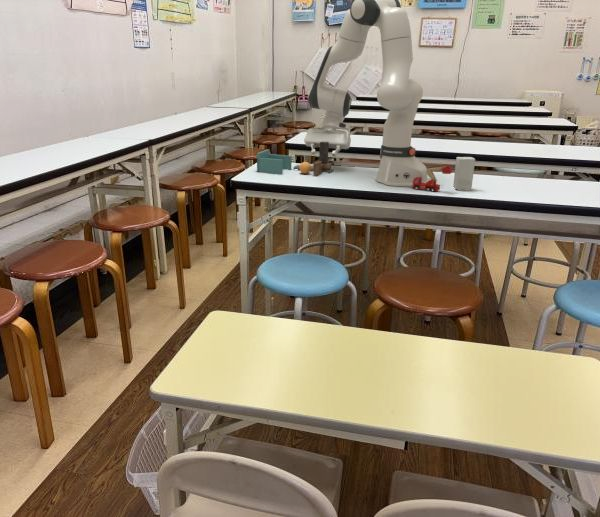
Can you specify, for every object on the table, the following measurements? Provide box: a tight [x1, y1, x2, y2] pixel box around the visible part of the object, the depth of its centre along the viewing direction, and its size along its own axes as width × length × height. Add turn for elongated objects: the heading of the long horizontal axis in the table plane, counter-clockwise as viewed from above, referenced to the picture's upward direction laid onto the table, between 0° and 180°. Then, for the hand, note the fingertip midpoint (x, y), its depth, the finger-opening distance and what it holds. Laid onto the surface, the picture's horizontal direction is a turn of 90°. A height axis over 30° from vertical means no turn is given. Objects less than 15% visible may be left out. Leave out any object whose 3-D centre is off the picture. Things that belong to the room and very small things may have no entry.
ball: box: [299, 161, 312, 175], centre depth 215 cm, size 5×5×5 cm
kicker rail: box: [293, 164, 335, 174], centre depth 222 cm, size 17×5×1 cm, turn 69°
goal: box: [256, 148, 293, 175], centre depth 219 cm, size 12×11×8 cm
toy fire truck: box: [411, 165, 453, 192], centre depth 190 cm, size 3×14×10 cm, turn 62°
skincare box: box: [452, 156, 476, 190], centre depth 192 cm, size 6×4×12 cm
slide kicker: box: [312, 142, 332, 176], centre depth 215 cm, size 6×13×12 cm, turn 159°
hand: (323, 154), depth 218 cm, fingers open, 8 cm apart
